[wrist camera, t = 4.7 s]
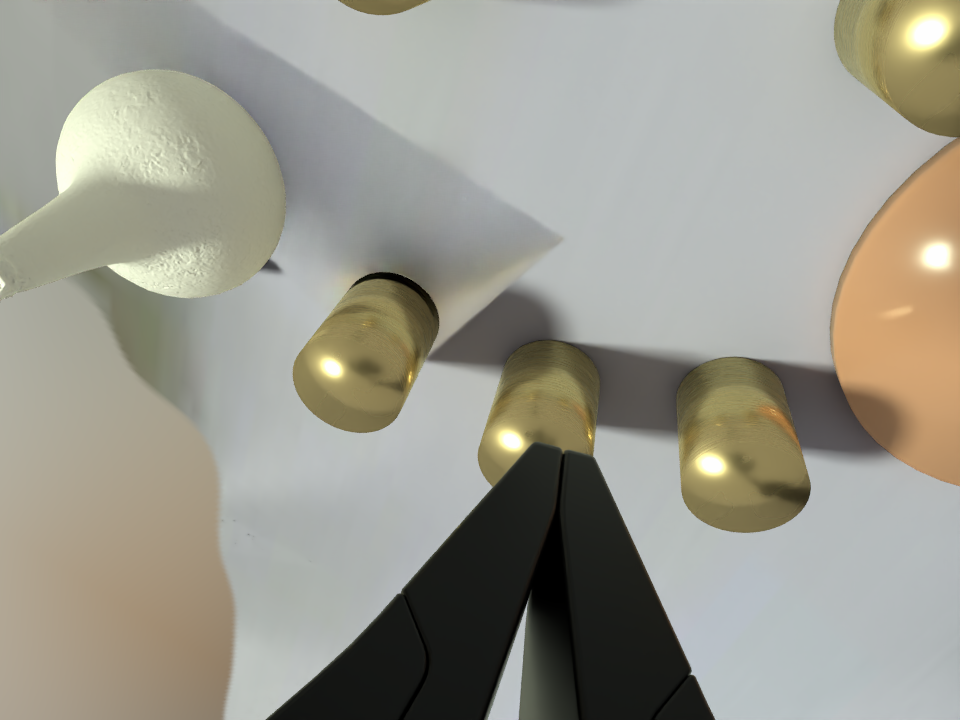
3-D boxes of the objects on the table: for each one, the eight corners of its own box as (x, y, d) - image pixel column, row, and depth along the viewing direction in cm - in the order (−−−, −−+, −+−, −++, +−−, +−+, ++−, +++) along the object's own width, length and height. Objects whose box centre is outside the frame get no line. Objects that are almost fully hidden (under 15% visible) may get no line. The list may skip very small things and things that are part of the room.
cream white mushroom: (312, 278, 22) (171, 434, 15) (137, 251, 23) (-68, 389, 16) (293, 72, 18) (98, 161, 12) (86, 49, 19) (-202, 121, 13)
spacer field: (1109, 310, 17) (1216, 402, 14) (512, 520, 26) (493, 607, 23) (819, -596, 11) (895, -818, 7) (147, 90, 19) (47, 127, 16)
